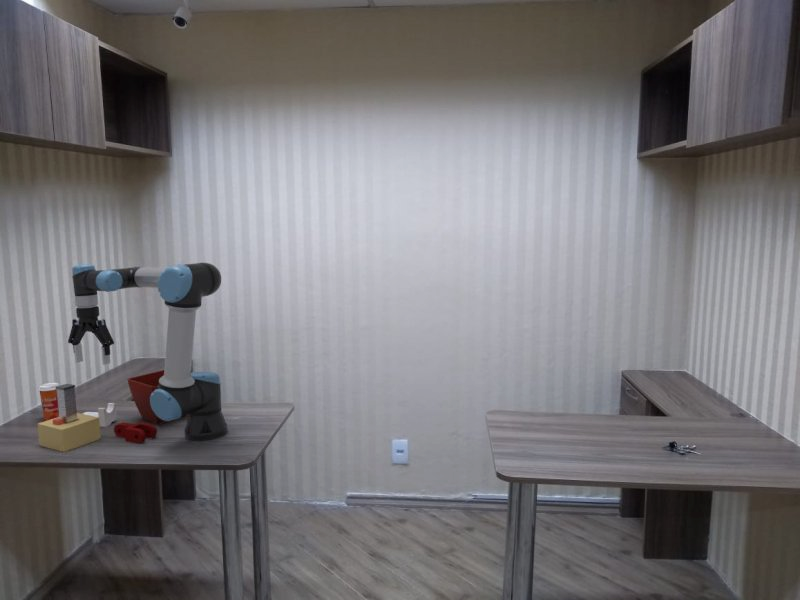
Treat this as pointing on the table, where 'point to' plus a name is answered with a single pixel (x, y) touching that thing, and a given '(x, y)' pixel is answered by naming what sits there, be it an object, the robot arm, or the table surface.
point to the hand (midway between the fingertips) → (92, 362)
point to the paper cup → (49, 400)
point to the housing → (69, 432)
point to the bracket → (105, 415)
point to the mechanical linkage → (135, 431)
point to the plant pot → (146, 394)
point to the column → (67, 403)
